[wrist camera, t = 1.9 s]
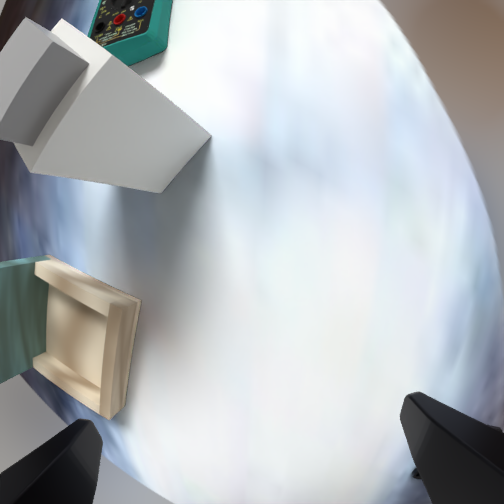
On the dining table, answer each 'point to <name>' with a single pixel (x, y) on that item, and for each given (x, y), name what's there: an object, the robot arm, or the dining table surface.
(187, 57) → the dining table surface
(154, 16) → the digital multimeter
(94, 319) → the tray
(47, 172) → the connector plug
